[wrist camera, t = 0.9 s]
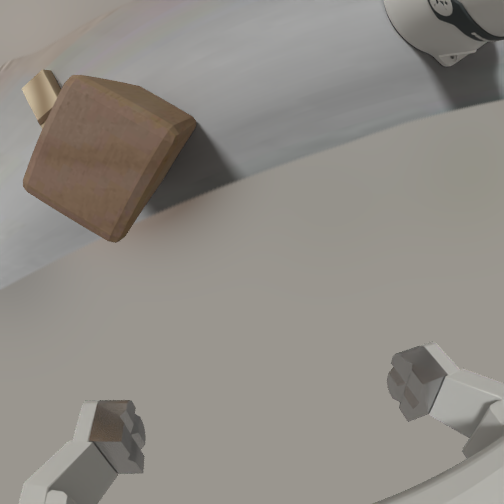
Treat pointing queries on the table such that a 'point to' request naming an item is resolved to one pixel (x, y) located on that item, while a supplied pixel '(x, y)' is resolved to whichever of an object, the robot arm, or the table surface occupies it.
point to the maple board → (42, 94)
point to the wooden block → (105, 152)
